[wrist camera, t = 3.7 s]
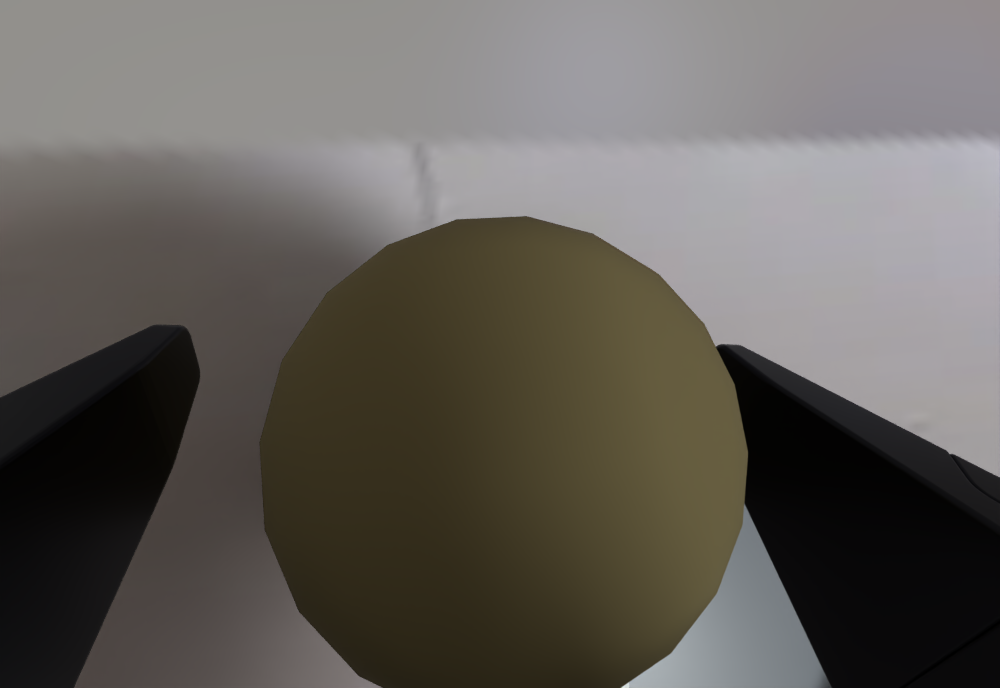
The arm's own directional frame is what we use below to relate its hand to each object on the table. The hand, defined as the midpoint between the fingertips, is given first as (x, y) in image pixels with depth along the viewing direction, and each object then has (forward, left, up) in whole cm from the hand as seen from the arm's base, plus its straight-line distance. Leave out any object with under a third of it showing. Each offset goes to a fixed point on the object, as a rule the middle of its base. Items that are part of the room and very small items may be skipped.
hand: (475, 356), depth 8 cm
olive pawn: (-1, -1, -7) cm, 7 cm away
